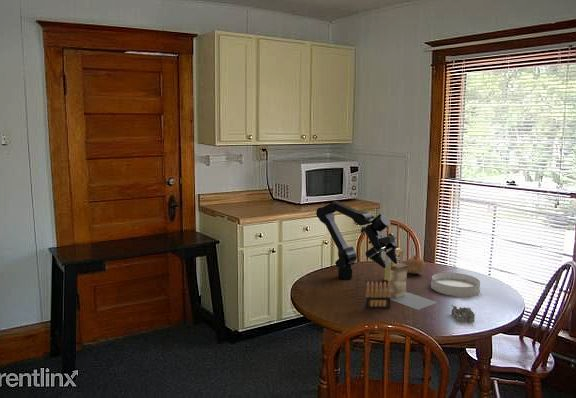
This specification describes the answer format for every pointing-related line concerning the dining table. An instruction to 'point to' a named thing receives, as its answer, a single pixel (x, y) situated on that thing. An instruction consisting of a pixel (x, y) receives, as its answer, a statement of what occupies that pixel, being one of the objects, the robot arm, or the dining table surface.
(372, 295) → the ammunition clip
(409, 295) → the rubber mat
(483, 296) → the dining table surface
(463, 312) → the dark green lumpy clump
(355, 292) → the dining table surface
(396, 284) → the birch block
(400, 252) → the candy box
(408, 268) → the onion
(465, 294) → the dish
